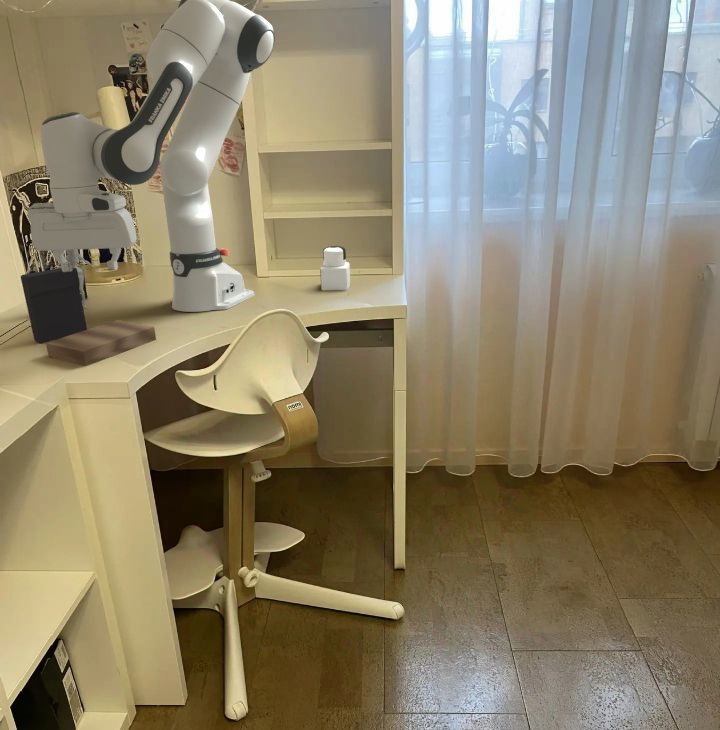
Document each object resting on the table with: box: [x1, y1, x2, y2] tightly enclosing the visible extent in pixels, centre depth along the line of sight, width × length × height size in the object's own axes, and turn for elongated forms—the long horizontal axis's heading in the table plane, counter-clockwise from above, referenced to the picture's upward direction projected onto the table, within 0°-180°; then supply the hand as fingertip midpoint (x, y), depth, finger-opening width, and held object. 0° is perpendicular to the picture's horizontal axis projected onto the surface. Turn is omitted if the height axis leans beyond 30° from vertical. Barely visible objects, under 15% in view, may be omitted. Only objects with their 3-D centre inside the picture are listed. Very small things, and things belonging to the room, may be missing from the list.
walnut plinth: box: [45, 319, 157, 367], centre depth 140 cm, size 18×12×3 cm, turn 149°
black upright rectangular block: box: [20, 267, 88, 344], centre depth 147 cm, size 11×4×15 cm, turn 138°
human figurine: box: [58, 249, 100, 310], centre depth 167 cm, size 12×4×18 cm, turn 139°
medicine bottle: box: [319, 245, 351, 291], centre depth 178 cm, size 7×7×12 cm
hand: (90, 270), depth 135 cm, fingers open, 8 cm apart
